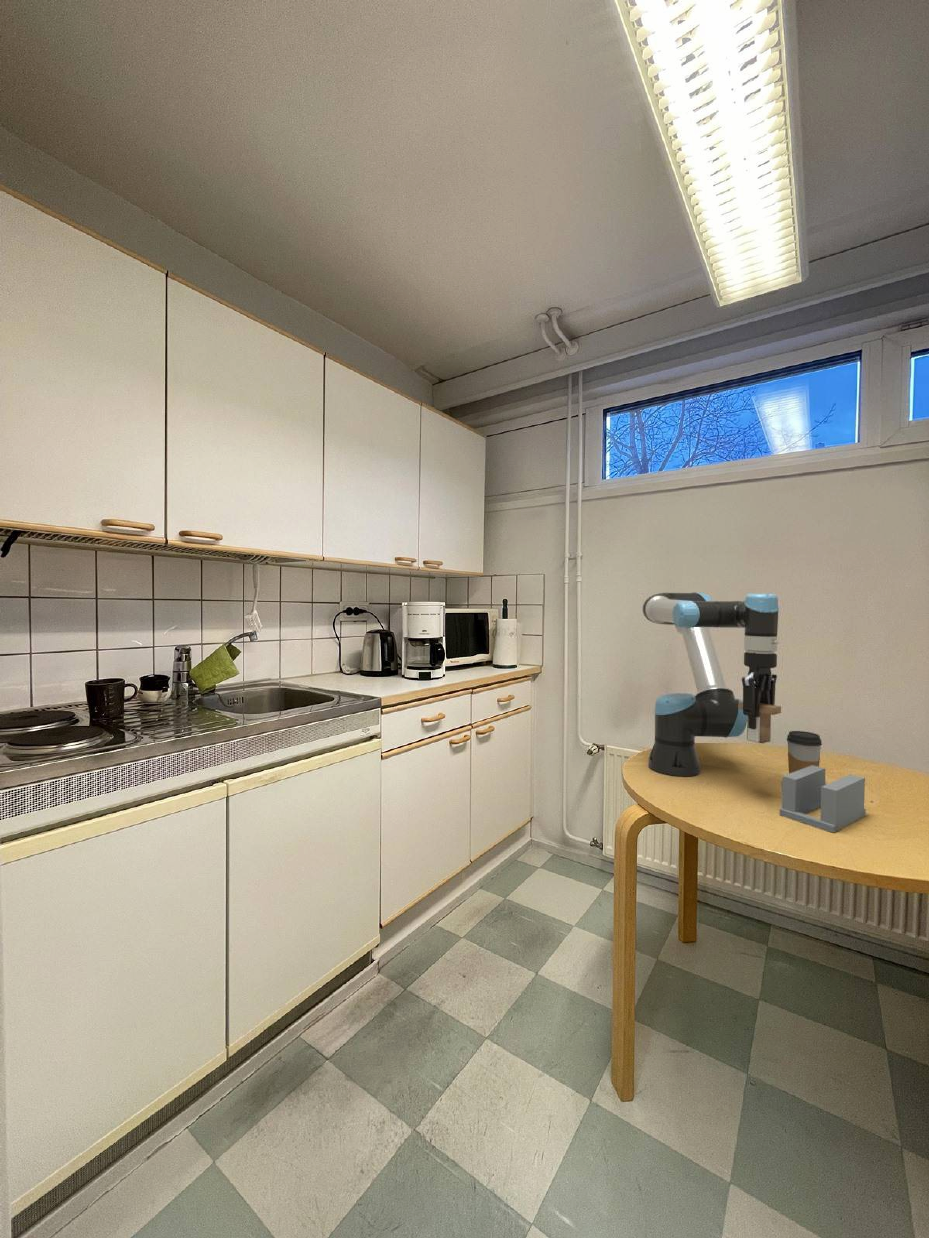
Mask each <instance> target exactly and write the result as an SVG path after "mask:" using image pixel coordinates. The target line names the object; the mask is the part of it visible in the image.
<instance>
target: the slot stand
mask: <svg viewBox="0 0 929 1238" xmlns="http://www.w3.org/2000/svg"><path fill="white" fill-rule="evenodd" d="M781 780H782V781H781V808H780V809H779V816H781V817H784V818H786V819H791V820H792V821H797V822H799V823H802V824H805V825H809V826H811V827H814V828H817V829H820V830H824V831H826V832H829V833H832V834H834V833H836V832H838V831H840V830H842V829H844V828H845V827H847V826H849V825H851V824H853V823H854V822H856V821H858V820H860V819H861V818H863V817H865V816H867V815H866V814H867V813H866V812H867V810H866V808H865V791H866V777H863V776H858V775H855V774H848V775H846V776H844V777H843V776H842V777H841V778H838V779H836V780H834V781H832V782H829V783H827V784H826V767H821V766H819V767H818V766H814V765H811V766H809V767H806V768H803V769H801V770H798V771H795V772H792V773H790V774H789V773H787V774H784V775H782V777H781ZM818 808H820V818H818V817H815V816H812V815H808V814H807V813H810V812H812V811H813V810H817V809H818Z"/></svg>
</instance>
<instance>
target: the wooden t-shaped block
mask: <svg viewBox="0 0 929 1238" xmlns="http://www.w3.org/2000/svg"><path fill="white" fill-rule="evenodd" d="M738 709H743V700H742V701H741V702H738ZM778 714H782V706H781V705H776V704H775V705H770V704H764V703H760V706H759V713H758V717H760V742H757V743H758V744H761V745H762V744H766V743H770V742H771V728H772V726H771V725H772V724H771V723H772V719H771V718H772V715H773V716H775V715H778ZM746 741H748V742H749V741H750V742H754V743H756V742H755V741H751V740H748V716H747V724H746Z"/></svg>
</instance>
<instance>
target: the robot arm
mask: <svg viewBox="0 0 929 1238" xmlns="http://www.w3.org/2000/svg"><path fill="white" fill-rule="evenodd" d="M779 611H780V608H779V598H778V596H777V595H776V593H775V594H774V593H748V594H747V595H746V596H745V600H744V601H743V600H732V601H730V600H728V601H727V600H725V601H724V600H720V601H718V600H717V601H716V600H712V598H711V596H709V594H707V593H704V592H702V593H701V592H697V591H696V592H695V591H693V592H660V593H655V594H652V595H651V596H648V597H647V599H645V601H644V603H643V604H642V614H643V616H644V617H645V619H646V620H648V621H649V622H651V623H653V624H658V625H666V626H667V625H670V626H672V625H673V626H675V629H676V631H677V633H678V634H680V635H682V637H683V642H684V645H685V649H686V652H687V657H688V660H689V664H690V668H691V673H692V675H693V680H694V683H695V687H696V691H697V692H696V693H695V695H694V694H691V693H681V692H677V693H667V694H664V695H661V696H658V697H657V698H656V700H655V705H654V706H655V708H654V743H653V746H652V749H651V751H650V755H649V756H648V764H647V765H648V767H649V769H650V770H652V771H655V772H657V773H660V774H663V775H668V776H673V777H674V776H676V777H692V776H694V777H695V776H697V775H699V774H700V773H701V763H700V761H699V760H700V759H699V757H698V753H697V749H696V747H695V745H696V744H695V741H696V737H707V738H708V737H709V738H710V737H711V738H713V737H715V738H733V737H735V738H736V737H739V736H741V735H742V734H743V733H744V732H745V730H746V729H747V716H748V740H747V741H749V740H751V741H750V742H753V741H755V742H754V743H758V742H760V717H758V713H759V706H760V703H764V704H770V705H776V701H775V700H776V683H777V679H778V678H777V677H778V675H777V674H774V673H772V669H774V668H777V666H778V654H777V653H775V652H777V651H778V644H779V641H778V633H779V632H778V627H779ZM710 628H722V629H723V628H724V629H725V628H729V629H731V628H736V629H737V628H738V629H740V628H742V629H744V640H743V649H744V651H745V652H744V653H743V665H744V666H745V667H748V668H749V669H748V672H747V677H745V676H743V677H741V682H742V699H739V698H736V697H735V695H734V691H733V690H732V689H730V688H728V687H727V686H726V682H725V679H724V675H723V673H722V669H721V666H720V662H719V659H718V656H717V653H716V649H715V645H714V641H713V640H712V636H711V632H710ZM741 701H743V709H738V702H741Z"/></svg>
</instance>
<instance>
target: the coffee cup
mask: <svg viewBox="0 0 929 1238" xmlns="http://www.w3.org/2000/svg"><path fill="white" fill-rule="evenodd" d="M786 737H787V738H786V741H787V761H788V762H787V763H788V774H790V773H792V772H795V771H798V770H801V769H803V768H806V767H809V766H811V765H814V766H818V767H820V761H821V748H822V745H823V744H822V739H821V736H820V734H817V733H815V732H810V731H804V730H803V731H802V730H791V731H788V734H787V736H786Z"/></svg>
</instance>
